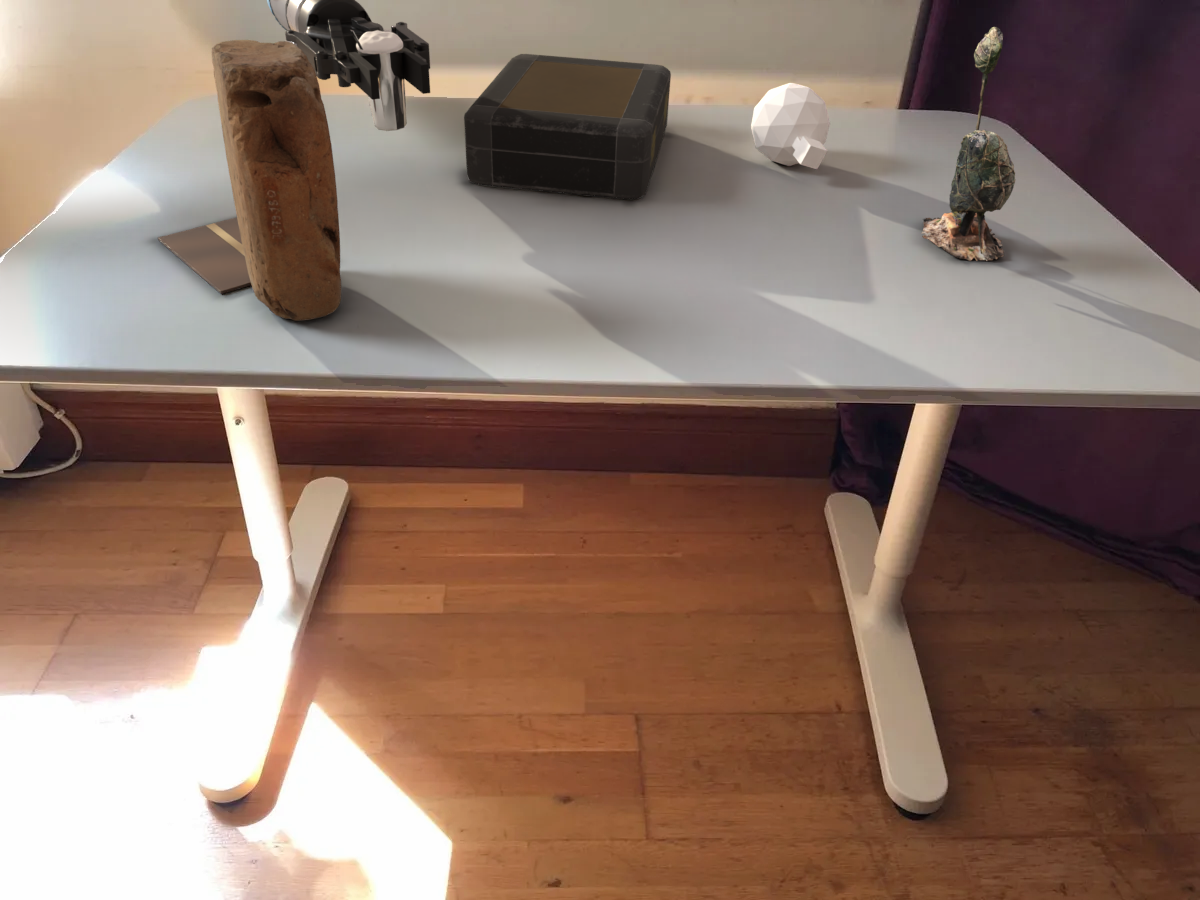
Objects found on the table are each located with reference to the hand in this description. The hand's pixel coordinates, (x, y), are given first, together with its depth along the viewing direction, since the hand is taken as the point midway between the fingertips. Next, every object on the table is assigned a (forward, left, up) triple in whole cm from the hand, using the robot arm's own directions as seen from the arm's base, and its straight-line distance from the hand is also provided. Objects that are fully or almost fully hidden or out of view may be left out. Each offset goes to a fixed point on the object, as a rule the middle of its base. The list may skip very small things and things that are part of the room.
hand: (400, 81), depth 91 cm
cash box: (-1, +22, -12) cm, 26 cm away
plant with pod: (+42, +37, -12) cm, 57 cm away
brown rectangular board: (+1, -19, -12) cm, 22 cm away
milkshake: (-5, +1, -6) cm, 8 cm away
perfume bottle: (+17, +40, -12) cm, 45 cm away
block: (+12, -19, -12) cm, 25 cm away
